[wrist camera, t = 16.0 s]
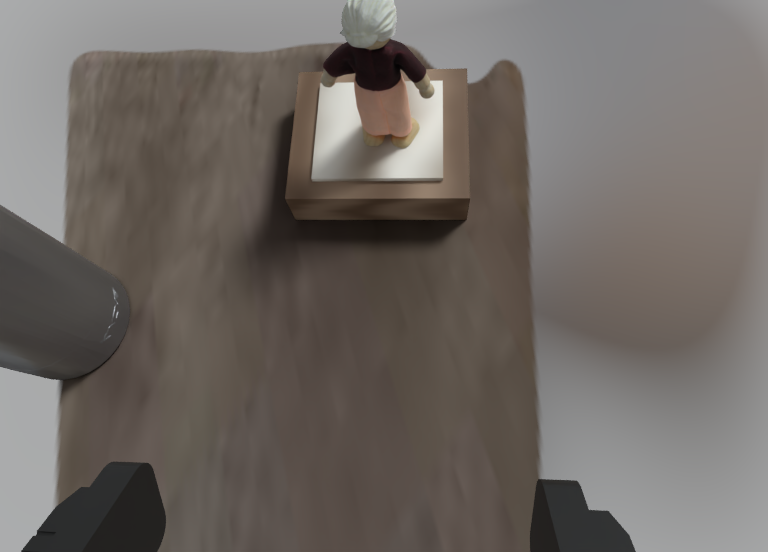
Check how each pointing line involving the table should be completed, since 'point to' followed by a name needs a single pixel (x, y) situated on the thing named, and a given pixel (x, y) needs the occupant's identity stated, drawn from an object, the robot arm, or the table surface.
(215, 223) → the table surface
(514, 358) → the table surface
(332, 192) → the stand
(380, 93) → the grandmother figurine
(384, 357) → the table surface
